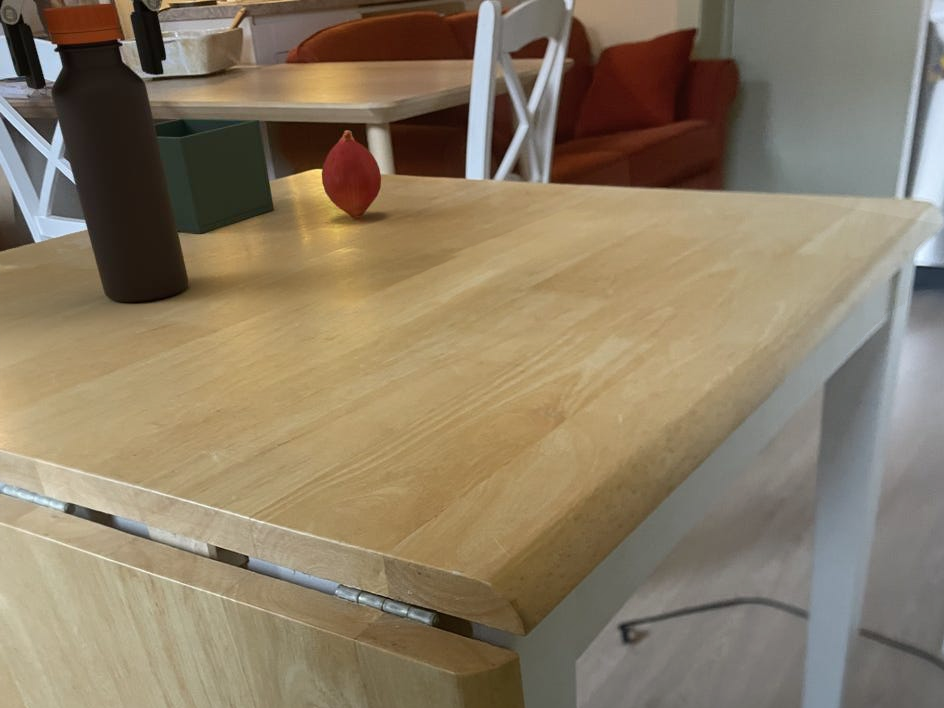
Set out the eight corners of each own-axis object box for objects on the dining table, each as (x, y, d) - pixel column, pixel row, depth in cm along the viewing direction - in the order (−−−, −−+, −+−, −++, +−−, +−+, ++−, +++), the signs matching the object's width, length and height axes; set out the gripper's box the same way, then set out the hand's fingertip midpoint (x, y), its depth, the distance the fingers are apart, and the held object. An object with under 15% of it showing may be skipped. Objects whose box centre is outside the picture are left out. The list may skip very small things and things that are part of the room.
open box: (200, 233, 100) (180, 138, 95) (124, 226, 105) (102, 135, 100) (274, 209, 107) (259, 119, 102) (200, 203, 112) (182, 118, 108)
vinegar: (207, 284, 84) (147, 0, 72) (144, 307, 79) (70, 8, 68) (151, 276, 87) (86, 4, 76) (88, 298, 82) (8, 11, 71)
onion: (315, 221, 101) (302, 133, 97) (354, 209, 105) (344, 124, 100) (358, 227, 98) (346, 136, 93) (396, 214, 102) (388, 126, 97)
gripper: (136, -220, 71) (192, 65, 81) (-135, -221, 64) (-37, 92, 73) (170, -238, 65) (226, 69, 75) (-120, -242, 58) (-17, 99, 68)
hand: (96, 79), depth 74 cm, fingers open, 8 cm apart
